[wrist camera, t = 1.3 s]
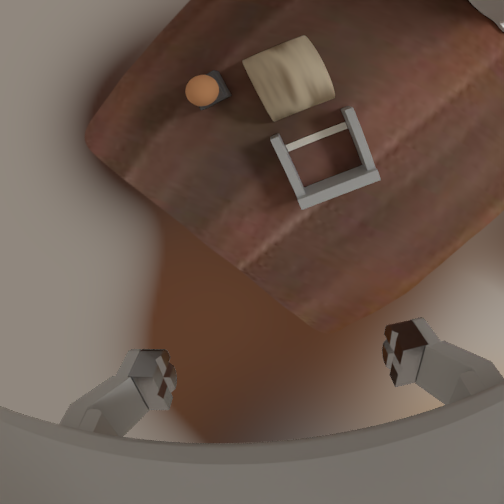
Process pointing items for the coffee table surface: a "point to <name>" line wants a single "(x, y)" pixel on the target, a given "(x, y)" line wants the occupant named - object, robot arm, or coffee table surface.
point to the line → (316, 136)
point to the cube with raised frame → (223, 89)
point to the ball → (202, 90)
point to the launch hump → (289, 78)
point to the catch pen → (338, 182)
